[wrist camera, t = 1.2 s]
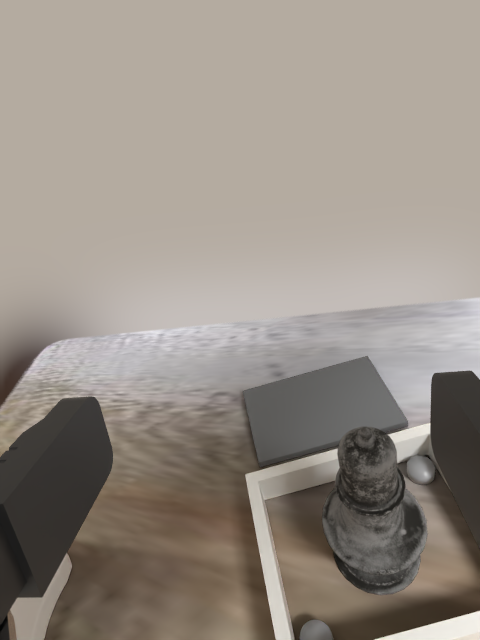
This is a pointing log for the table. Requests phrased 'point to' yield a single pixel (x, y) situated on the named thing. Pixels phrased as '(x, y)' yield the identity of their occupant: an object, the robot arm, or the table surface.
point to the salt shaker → (373, 515)
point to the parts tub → (411, 444)
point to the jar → (39, 606)
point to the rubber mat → (319, 410)
